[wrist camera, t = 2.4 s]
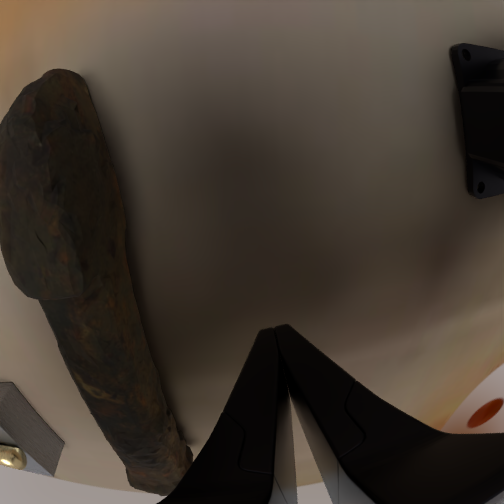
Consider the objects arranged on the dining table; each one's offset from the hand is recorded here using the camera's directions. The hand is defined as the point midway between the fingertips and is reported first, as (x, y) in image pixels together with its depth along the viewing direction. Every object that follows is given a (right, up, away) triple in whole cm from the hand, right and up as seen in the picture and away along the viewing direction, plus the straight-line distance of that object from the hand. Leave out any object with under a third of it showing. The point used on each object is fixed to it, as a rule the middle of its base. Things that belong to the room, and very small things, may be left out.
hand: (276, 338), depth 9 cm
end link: (-16, -8, +5) cm, 19 cm away
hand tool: (-7, 0, +3) cm, 7 cm away
